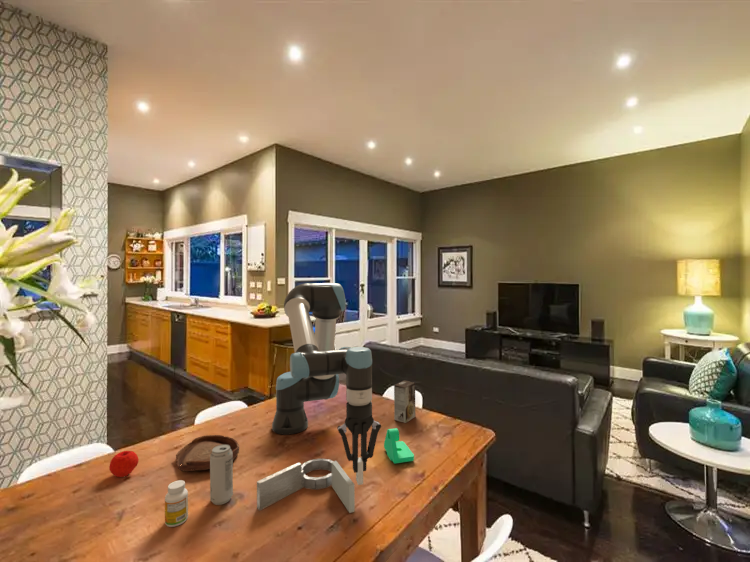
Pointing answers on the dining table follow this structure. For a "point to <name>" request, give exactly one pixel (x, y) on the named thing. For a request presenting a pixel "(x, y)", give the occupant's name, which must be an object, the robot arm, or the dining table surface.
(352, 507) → the hinge leaf
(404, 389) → the coffee box
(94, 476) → the dining table surface
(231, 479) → the energy drink can
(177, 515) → the supplement bottle
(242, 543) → the dining table surface
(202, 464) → the basket
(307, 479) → the hinge fixed
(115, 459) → the apple
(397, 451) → the camera mount
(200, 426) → the dining table surface
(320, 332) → the robot arm
